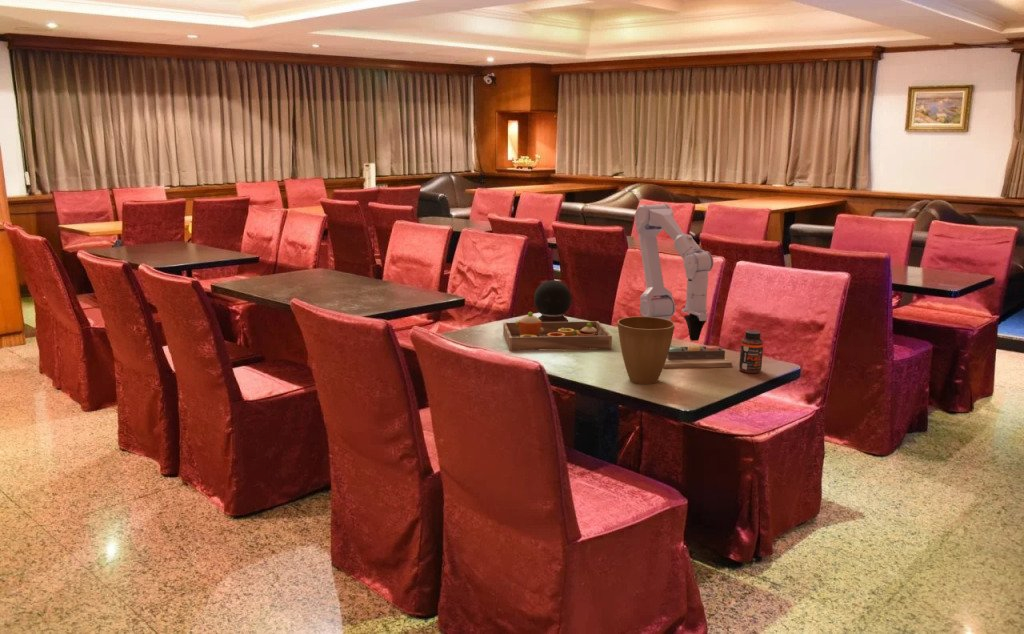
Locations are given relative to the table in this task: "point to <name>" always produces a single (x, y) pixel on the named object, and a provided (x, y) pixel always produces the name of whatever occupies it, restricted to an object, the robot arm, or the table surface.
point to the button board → (696, 358)
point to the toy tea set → (532, 328)
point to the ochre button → (693, 348)
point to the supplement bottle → (751, 352)
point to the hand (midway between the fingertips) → (694, 340)
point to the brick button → (712, 348)
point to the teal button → (675, 349)
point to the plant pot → (645, 346)
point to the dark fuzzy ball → (552, 301)
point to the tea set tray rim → (557, 337)
